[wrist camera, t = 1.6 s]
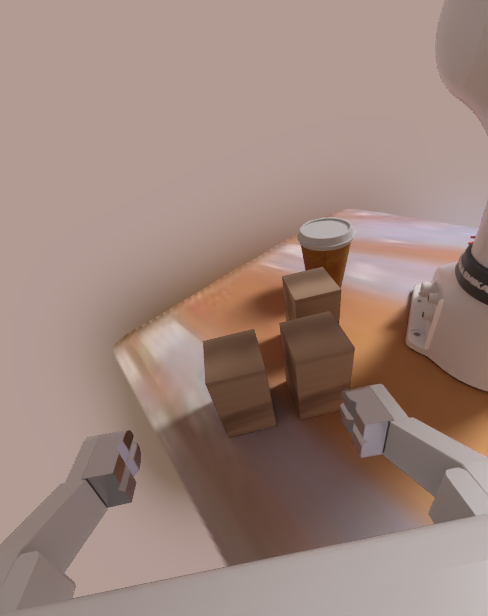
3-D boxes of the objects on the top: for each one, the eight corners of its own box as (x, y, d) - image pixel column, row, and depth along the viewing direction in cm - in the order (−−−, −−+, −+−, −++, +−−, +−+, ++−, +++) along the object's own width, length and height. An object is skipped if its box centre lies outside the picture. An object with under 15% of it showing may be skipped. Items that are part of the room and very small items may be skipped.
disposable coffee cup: (315, 268, 59) (314, 214, 52) (358, 279, 53) (365, 219, 46) (290, 291, 54) (286, 234, 47) (335, 305, 48) (338, 244, 41)
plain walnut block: (276, 426, 33) (265, 369, 26) (228, 437, 33) (205, 383, 26) (265, 385, 38) (253, 329, 31) (224, 396, 38) (203, 341, 31)
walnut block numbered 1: (347, 408, 33) (354, 347, 26) (300, 420, 33) (295, 362, 26) (327, 369, 38) (328, 309, 31) (285, 379, 38) (278, 321, 31)
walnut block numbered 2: (337, 348, 41) (341, 289, 34) (299, 358, 41) (295, 300, 34) (321, 322, 46) (322, 266, 39) (287, 330, 46) (281, 275, 39)
